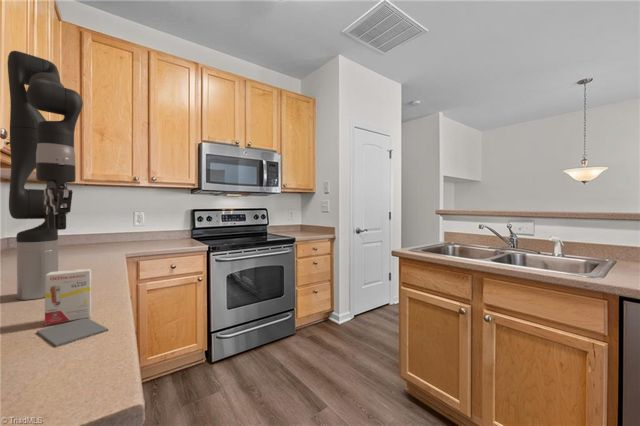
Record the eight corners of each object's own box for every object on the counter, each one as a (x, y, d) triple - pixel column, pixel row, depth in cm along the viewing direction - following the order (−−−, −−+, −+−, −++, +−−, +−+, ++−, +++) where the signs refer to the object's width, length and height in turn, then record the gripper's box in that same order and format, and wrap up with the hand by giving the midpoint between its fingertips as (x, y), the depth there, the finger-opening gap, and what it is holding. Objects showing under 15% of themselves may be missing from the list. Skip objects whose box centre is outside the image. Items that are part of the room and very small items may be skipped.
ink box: (43, 325, 66) (43, 274, 66) (46, 320, 70) (47, 272, 70) (90, 317, 71) (90, 269, 72) (91, 313, 75) (91, 268, 76)
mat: (36, 332, 63) (36, 330, 63) (86, 319, 71) (86, 317, 71) (56, 346, 57) (56, 344, 57) (108, 330, 65) (108, 328, 65)
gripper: (27, 163, 74) (28, 228, 75) (46, 159, 67) (46, 231, 67) (64, 167, 81) (65, 227, 81) (85, 163, 73) (85, 229, 74)
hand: (56, 228), depth 74 cm, fingers open, 4 cm apart
